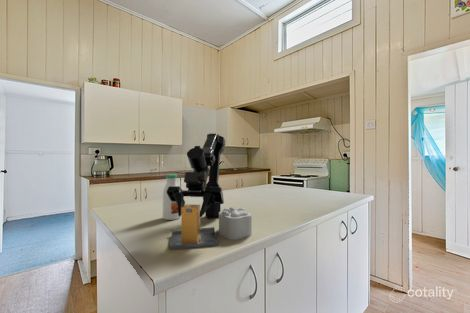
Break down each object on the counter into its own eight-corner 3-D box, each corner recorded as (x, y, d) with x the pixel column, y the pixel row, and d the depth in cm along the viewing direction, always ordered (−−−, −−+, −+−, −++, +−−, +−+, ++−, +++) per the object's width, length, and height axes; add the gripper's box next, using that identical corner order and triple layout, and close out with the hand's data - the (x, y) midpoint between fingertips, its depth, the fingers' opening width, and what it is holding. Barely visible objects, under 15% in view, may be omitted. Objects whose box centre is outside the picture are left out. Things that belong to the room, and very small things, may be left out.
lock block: (186, 237, 74) (185, 204, 74) (200, 237, 73) (200, 204, 73) (181, 242, 70) (181, 207, 70) (196, 242, 69) (196, 207, 69)
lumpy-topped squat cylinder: (231, 241, 74) (231, 215, 74) (212, 230, 85) (212, 207, 85) (255, 234, 80) (255, 210, 80) (234, 225, 91) (234, 204, 91)
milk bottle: (164, 221, 96) (164, 175, 96) (161, 217, 103) (161, 174, 103) (182, 219, 100) (181, 174, 100) (178, 215, 107) (177, 173, 107)
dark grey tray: (214, 232, 82) (214, 227, 82) (218, 245, 70) (218, 239, 70) (172, 236, 78) (172, 230, 78) (169, 250, 67) (169, 243, 67)
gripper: (168, 163, 77) (153, 201, 66) (221, 163, 74) (214, 202, 63) (177, 182, 84) (164, 220, 74) (225, 183, 82) (220, 222, 71)
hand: (189, 216), depth 70 cm, fingers open, 7 cm apart
